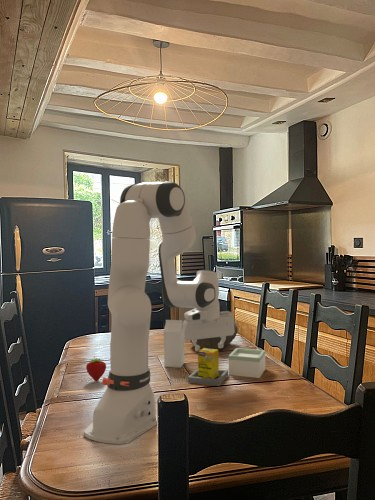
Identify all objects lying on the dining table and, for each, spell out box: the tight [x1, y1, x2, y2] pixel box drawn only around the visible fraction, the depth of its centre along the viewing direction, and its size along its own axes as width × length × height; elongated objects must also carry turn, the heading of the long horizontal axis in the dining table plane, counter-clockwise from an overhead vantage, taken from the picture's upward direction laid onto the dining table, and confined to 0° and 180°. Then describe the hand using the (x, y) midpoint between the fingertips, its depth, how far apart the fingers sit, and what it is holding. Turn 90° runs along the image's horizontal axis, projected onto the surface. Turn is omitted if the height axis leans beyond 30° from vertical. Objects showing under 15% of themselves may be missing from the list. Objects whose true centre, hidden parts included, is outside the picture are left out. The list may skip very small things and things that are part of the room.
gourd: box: [189, 319, 239, 351], centre depth 198 cm, size 25×25×17 cm
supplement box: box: [197, 348, 220, 379], centre depth 151 cm, size 6×6×11 cm
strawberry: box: [85, 355, 107, 382], centre depth 150 cm, size 6×8×10 cm
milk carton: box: [163, 319, 186, 368], centre depth 169 cm, size 7×7×19 cm
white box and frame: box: [187, 347, 266, 387], centre depth 155 cm, size 25×24×8 cm
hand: (209, 349), depth 151 cm, fingers open, 8 cm apart
